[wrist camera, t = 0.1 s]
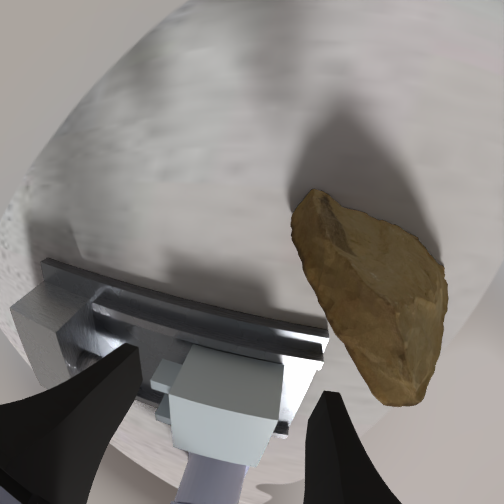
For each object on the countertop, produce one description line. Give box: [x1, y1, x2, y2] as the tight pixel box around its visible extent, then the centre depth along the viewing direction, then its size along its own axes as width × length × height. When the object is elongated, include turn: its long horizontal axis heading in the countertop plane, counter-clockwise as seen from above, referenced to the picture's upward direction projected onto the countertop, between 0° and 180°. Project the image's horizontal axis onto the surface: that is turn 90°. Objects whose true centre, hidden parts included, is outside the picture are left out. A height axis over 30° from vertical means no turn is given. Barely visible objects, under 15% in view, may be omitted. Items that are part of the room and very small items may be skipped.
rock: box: [291, 189, 448, 407], centre depth 15 cm, size 11×9×10 cm
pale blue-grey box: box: [150, 344, 284, 467], centre depth 21 cm, size 10×9×5 cm
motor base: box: [10, 258, 329, 439], centre depth 21 cm, size 14×25×6 cm, turn 81°
